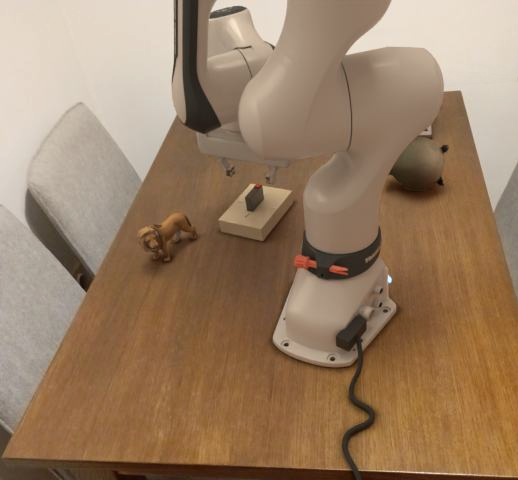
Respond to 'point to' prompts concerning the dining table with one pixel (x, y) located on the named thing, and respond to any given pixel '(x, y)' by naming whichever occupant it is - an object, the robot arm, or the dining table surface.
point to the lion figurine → (164, 234)
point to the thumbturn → (254, 197)
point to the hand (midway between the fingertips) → (250, 178)
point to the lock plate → (256, 213)
